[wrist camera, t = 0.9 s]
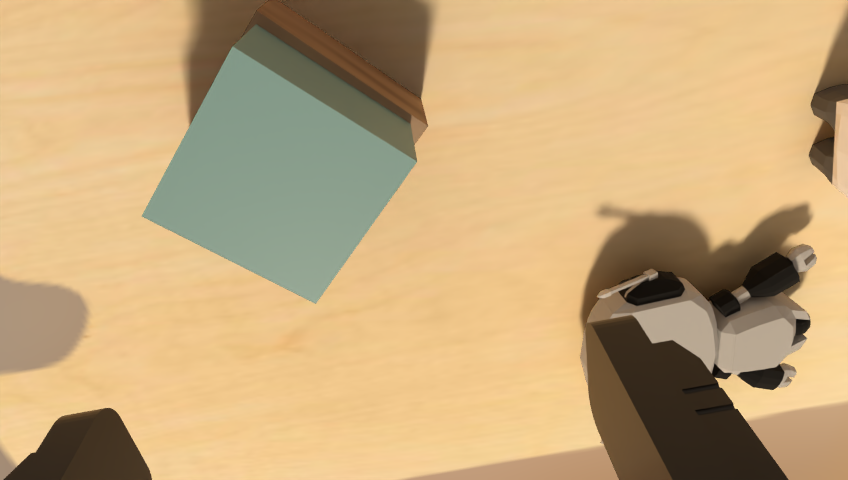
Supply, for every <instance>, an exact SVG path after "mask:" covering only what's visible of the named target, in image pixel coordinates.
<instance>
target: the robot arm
mask: <svg viewBox="0 0 848 480" xmlns="http://www.w3.org/2000/svg"><path fill="white" fill-rule="evenodd" d="M585 336H586V354H587V373H588V391H589V399H590V405H591V409H592V413H593V417H594V420H595V424H596V426H597V429H598V432H599V434H600V436H601V439H602V441H603V443H604V446H605V448H606V450H607V452H608V455H609V457H610V460H611V462H612V464H613V466H614V469H615V471H616V473H617V476H618V478H619V480H788V478H787V477H786V476H785V474H784V473H783V471H782V470H781V469H780V467H779V466H778V464H777V463H776V462H775V460H774V459H773V458H772V456H771V455H770V453H769V452H768V451H767V449H766V448H765V447H764V445H763V444H762V442H761V441H760V440H759V438H758V437H757V436H756V434H755V433H754V431H753V430H752V429H751V427H750V426H749V424H748V423H747V422H746V420H745V419H744V418H743V416H742V415H741V413H740V412H739V411H738V409H735V408H734V406H733V402H732V401H731V400H730V398H729V397H728V396H727V394H726V393H725V391H724V390H723V389H722V388H720V387H719V385H718V382H717V380H716V379H715V378H714V376H713V375H712V374H711V372H710V371H709V369H708V368H707V367H706V365H705V364H704V363H703V361H702V360H701V358H699V357H698V356H696V355H695V354H693V353H692V352H690V351H689V350H687V349H686V348H684V347H683V346H681V345H680V344H678V343H676V342H675V341H673V340H669V341H664V342H658V343H652V342H651V341H650V339H649V338H648V336H647V334H646V333H645V331H644V330H643V328H642V327H641V325H640V324H639V322H638V320H637V319H636V318H635V317H634V316H633V315H628V316H622V317H617V318H611V319H606V320H600V321H595V322H589V323H587V324H586V329H585ZM4 480H152V478H151V474H150V470H149V468H148V466H147V464H146V463H145V461H144V459H143V457H142V455H141V454H140V452H139V450H138V448H137V447H136V445H135V443H134V441H133V439H132V438H131V436H130V434H129V432H128V430H127V429H126V427H125V425H124V423H123V421H122V420H121V418H120V416H119V415H118V413H117V412H116V411H114V410H113V409H111V408H104V409H99V410H93V411H88V412H82V413H76V414H71V415H65V416H62V417H60V418H59V419H58V420H57V421H56V422H55V423H54V424H53V426H52V427H51V429H50V431H49V432H48V434H47V435H46V437H45V439H44V440H43V442H42V443H41V445H40V447H39V448H38V450H37V451H36V453H31V454H30V455H29V456H28V457H27V458H26V459H25V460H23V461H22V462H21V463H20V464H19V465H18V466H17V467H16V468H15V469H14V470H13V471H12V472H11V473H10V474H9V475H8V476H7V477H6V478H5V479H4Z"/></svg>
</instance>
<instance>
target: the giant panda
mask: <svg viewBox="0 0 848 480" xmlns="http://www.w3.org/2000/svg"><path fill="white" fill-rule="evenodd" d="M811 108H812V110H813V113H814V115H816V116H817V117H819V118H821V119H823V120H825V121H827V122H828V123H829V124H830V126H831V127H832V128H833V130H834V131H835V137H833V138H828V139H825V140H823V141H821V142H819V143H816V144H814V145H813V146H812V149H811V152H810V154H809V157H810V160H811V162H812V164H813V165H814V166H815V167H817V168H818V169H819V170H820V171H821V172H822V173H823V174H824V175H825V176H826V177H827V178H828V180H829V181H830V182H831V184H832V185H833V186H834V187H835V188H836V189H838V190H839V191H840V192H841V193H842V194H844V195H845V196H846V197H847V198H848V84H843V85H839V86H834V87H830V88H827V89H825V90H823V91H820V92H818V93H816V94H814V97H813V100H812V103H811Z"/></svg>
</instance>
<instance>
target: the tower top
mask: <svg viewBox="0 0 848 480" xmlns="http://www.w3.org/2000/svg"><path fill="white" fill-rule="evenodd" d="M416 162H417V158H416V152H415V147H414V141H413V135H412V130H411V124H410V123H409V122H407V121H406V120H404V119H402V118H401V117H399V116H398V115H396V114H395V113H393V112H392V111H390V110H388V109H387V108H385V107H384V106H382V105H381V104H379V103H378V102H376V101H375V100H373V99H371V98H370V97H368V96H367V95H365V94H364V93H362V92H361V91H359V90H358V89H356V88H354V87H353V86H351V85H350V84H348V83H347V82H345V81H344V80H342V79H340V78H339V77H337V76H336V75H334V74H333V73H331V72H330V71H328V70H327V69H325V68H323V67H322V66H320V65H319V64H317V63H316V62H314V61H313V60H311V59H310V58H308V57H306V56H305V55H303V54H302V53H300V52H299V51H297V50H296V49H294V48H292V47H291V46H289V45H288V44H286V43H285V42H283V41H282V40H280V39H279V38H277V37H275V36H274V35H272V34H271V33H269V32H268V31H266V30H265V29H263V28H262V27H260V26H258V25H257V24H256V25H255V26H253V27H252V28H251V29H250V30H249V31H248V32H247V33H246V34H245V35H244V36H243V37H242V38H241V39H240V40H239V41H238V42H236V43H235V44H234V45H233V46H232V48H231V50H230V52H229V54H228V56H227V57H226V59H225V61H224V63H223V65H222V67H221V69H220V71H219V72H218V74H217V76H216V78H215V80H214V82H213V84H212V86H211V87H210V89H209V91H208V93H207V95H206V97H205V99H204V101H203V102H202V104H201V106H200V108H199V110H198V112H197V114H196V115H195V117H194V119H193V121H192V123H191V125H190V127H189V129H188V130H187V132H186V134H185V136H184V138H183V140H182V142H181V144H180V145H179V147H178V149H177V151H176V153H175V155H174V157H173V159H172V160H171V162H170V164H169V166H168V168H167V170H166V172H165V174H164V175H163V177H162V179H161V181H160V183H159V185H158V187H157V188H156V190H155V192H154V194H153V196H152V198H151V200H150V202H149V203H148V205H147V207H146V209H145V211H144V213H143V215H142V217H144V218H146V219H148V220H150V221H152V222H154V223H156V224H158V225H160V226H162V227H164V228H166V229H168V230H170V231H172V232H174V233H176V234H178V235H180V236H182V237H184V238H186V239H188V240H190V241H192V242H194V243H196V244H198V245H200V246H202V247H204V248H206V249H208V250H210V251H212V252H214V253H216V254H218V255H220V256H222V257H224V258H226V259H228V260H230V261H232V262H234V263H236V264H238V265H240V266H242V267H244V268H246V269H248V270H250V271H252V272H254V273H256V274H258V275H260V276H262V277H264V278H265V279H267V280H269V281H271V282H273V283H275V284H277V285H279V286H281V287H283V288H285V289H287V290H289V291H291V292H293V293H295V294H297V295H299V296H301V297H303V298H305V299H307V300H309V301H311V302H313V303H315V304H316V303H317V301H318V300H319V299H320V297H321V296H322V294H323V293H324V292H325V290H326V289H327V287H328V286H329V285H330V283H331V282H332V280H333V279H334V278H335V276H336V275H337V273H338V272H339V270H340V269H341V268H342V266H343V265H344V263H345V262H346V261H347V259H348V258H349V256H350V255H351V254H352V252H353V251H354V249H355V248H356V247H357V245H358V244H359V242H360V241H361V240H362V238H363V237H364V235H365V234H366V233H367V231H368V230H369V228H370V227H371V226H372V224H373V223H374V221H375V220H376V219H377V217H378V216H379V214H380V213H381V212H382V210H383V209H384V207H385V206H386V205H387V203H388V202H389V200H390V199H391V198H392V196H393V195H394V193H395V192H396V191H397V189H398V188H399V186H400V185H401V184H402V182H403V181H404V179H405V178H406V176H407V175H408V174H409V172H410V171H411V169H412V168H413V167H414V165H415V164H416Z"/></svg>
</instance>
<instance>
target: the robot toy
mask: <svg viewBox="0 0 848 480" xmlns="http://www.w3.org/2000/svg"><path fill="white" fill-rule="evenodd" d="M813 253H814V250H813V248H812V247H811V246H808V245H804V244H802V245H799V246H796V247H794V248H792V249H791V250H790V252H789V253H788V255H787V256H786V257H784V256H782V255H780V254H779V253H777V252H776V253H774V254H772V255H771V256H769V257H767V258H766V259H764V260H762V261H761V262H759V263H758V264H756V265H754V266H753V267H751V269H750V271H749V273H748V275H747V276H746V278H745V280H744V282H743V285H742V286H741V287H739V288H738V289H736V290H734V291H733V292H729V291H728V290H725V289H723V290H721V291H720V292H718V293H716V294H715V295H713V296H711V297H710V301H709V302H708V301H707V300H706V299H705V297H704V296H703V295H702V294H701V293H700V292H699V291H698V290H697V289H696V288H695V287H694V286H693V285H692V284H690V283H689V282H688V281H687V280H686V279H685V278H679V277H676V276H675V275H674V274H673V273H672V272H661V271H655V270H653V269H649V270H647V271H644V272H643V275H638V276H635V277H632V278H630V279H627V280H623V281H622V282H620V283H619V285H617V286H614V287H612V288H610V289H605V290H602V291H600V292H599V294H598V296H597V297H599V300H598V301H597V303H596V304H595V306H594V307H593V309H592V310H591V312H590V315H589V317H588V320H587V323H589V322H595V321H600V320H606V319H611V318H617V317H622V316H628V315H633V316H634V317H635V318H636V319H637V320H638V322H639V324H640V325H641V327H642V328H643V330H644V331H645V333H646V334H647V336H648V338H649V339H650V341H651V342H652V343H658V342H664V341H669V340H673V341H675V342H676V343H678V344H680V345H681V346H683V347H684V348H686V349H687V350H689V351H690V352H692V353H693V354H695V355H696V356H698V357H699V358H701V360H702V361H703V363H704V364H705V365H706V367H707V368H708V369H709V371H710V372H711V374H712V375H713V376H714V377H715V378H722V379H727V378H728V377H729V376H730V375H731V374H735V375H737V376H738V377H740V378H741V379H742V380H743V381H745V382H746V383H748V384H749V385H751V386H752V387H756V388H763V389H770V390H774V389H775V388H777V387H779V388H780V387H787V386H788V385H789V384H790V383H791V381H792V380H791V379H790V378H789V377H795V375H796V370H795V367H792V366H790V365H788V364H784V363H782V364H780V363H781V361H782V360H783V359H784V358H785V357H786V356H787V355H789V354H791V353H793V352H795V351H797V350H799V349H800V348H801V347H802V345H803V344H804V342H805V341H806V339H807V338H806V337H805V336H804V335H803V333H805V332H806V331H807V330H808V329H809V327H810V316H809V315H808V313H807V312H806V311H805V310H804V309H803V308H801V307H800V306H799V305H798V304H796V303H795V302H794V301H793V300H791V299H790V298H789V297H788V296H786V295H785V294H784V293H783V291H784V290H786V289H788V288H789V287H791V286H793V285H794V284H796V283H798V282H799V281H800V278H799V275H798V272H803V271H808V270H809V269H810V268H811V267H812V266H813V265H814V264H816V259H817V258H816V255H815V254H813ZM587 323H586V324H587ZM585 329H586V327H585ZM580 359H581V363H582V367H583V371H584V375H585V379H586V382H587V384H588V373H587V354H586V336H585V330H584V336H583V343H582V349H581V356H580ZM601 443H603V441H602V440H601ZM603 444H604V443H603Z"/></svg>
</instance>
